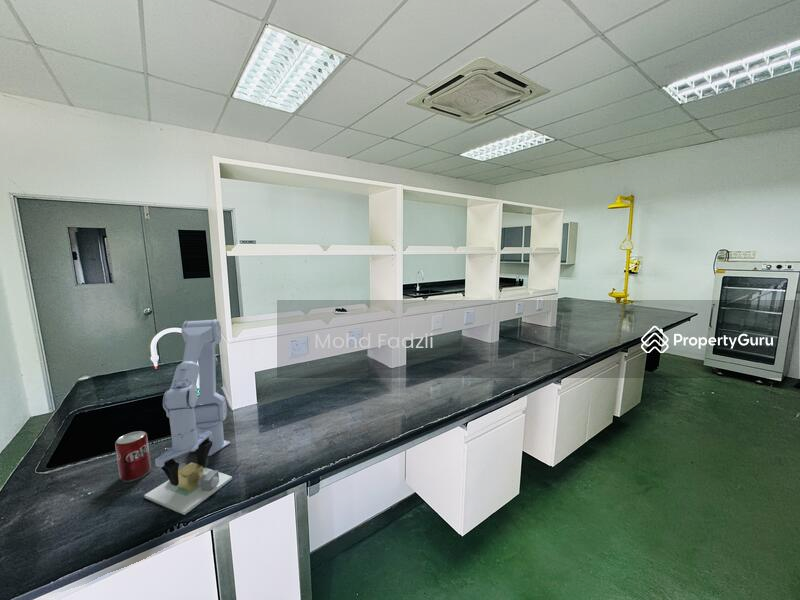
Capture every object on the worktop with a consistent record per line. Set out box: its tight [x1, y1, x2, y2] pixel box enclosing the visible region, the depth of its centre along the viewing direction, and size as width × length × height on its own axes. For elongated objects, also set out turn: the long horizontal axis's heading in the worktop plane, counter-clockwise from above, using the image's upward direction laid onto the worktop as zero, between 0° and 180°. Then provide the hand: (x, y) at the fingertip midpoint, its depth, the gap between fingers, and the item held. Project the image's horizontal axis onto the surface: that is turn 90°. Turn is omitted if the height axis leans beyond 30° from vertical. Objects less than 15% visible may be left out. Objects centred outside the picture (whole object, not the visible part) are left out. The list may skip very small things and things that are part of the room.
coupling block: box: [177, 461, 203, 493], centre depth 89 cm, size 4×4×5 cm
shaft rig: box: [143, 462, 233, 516], centre depth 89 cm, size 16×14×4 cm
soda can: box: [114, 430, 152, 483], centre depth 94 cm, size 7×7×12 cm
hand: (188, 475), depth 89 cm, fingers open, 7 cm apart
